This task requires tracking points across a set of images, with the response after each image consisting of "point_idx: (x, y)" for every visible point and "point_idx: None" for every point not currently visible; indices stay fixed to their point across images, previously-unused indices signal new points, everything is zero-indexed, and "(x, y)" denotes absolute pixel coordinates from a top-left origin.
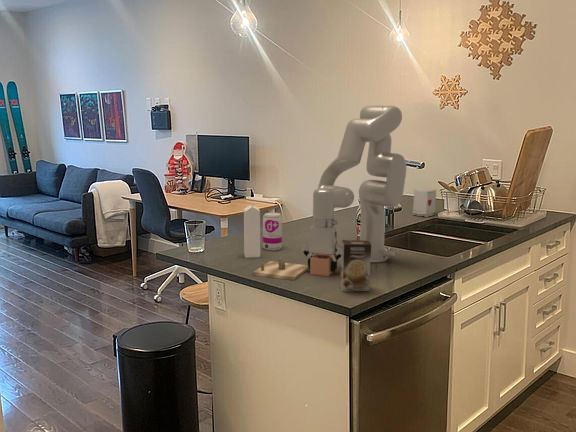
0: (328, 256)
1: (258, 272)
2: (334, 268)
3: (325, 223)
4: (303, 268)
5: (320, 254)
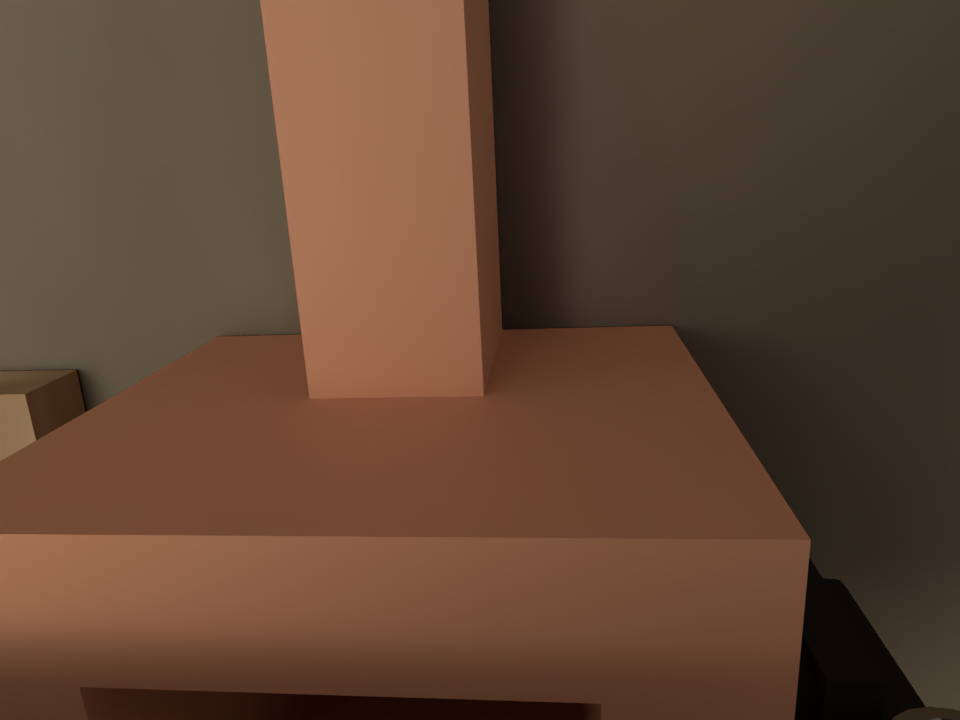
0: (532, 675)
1: None
2: None
3: None
4: None
5: (113, 636)
